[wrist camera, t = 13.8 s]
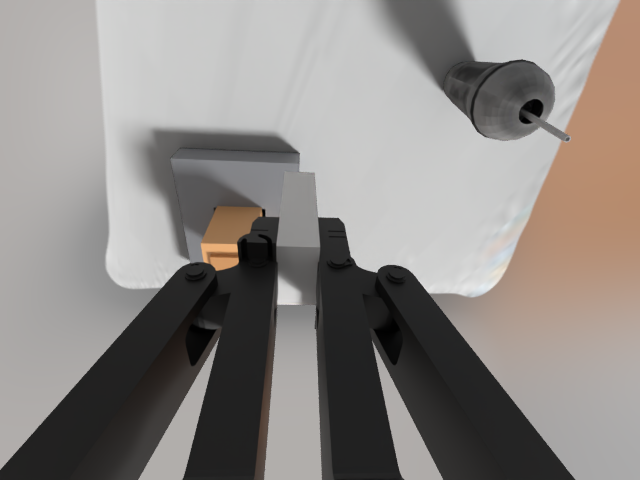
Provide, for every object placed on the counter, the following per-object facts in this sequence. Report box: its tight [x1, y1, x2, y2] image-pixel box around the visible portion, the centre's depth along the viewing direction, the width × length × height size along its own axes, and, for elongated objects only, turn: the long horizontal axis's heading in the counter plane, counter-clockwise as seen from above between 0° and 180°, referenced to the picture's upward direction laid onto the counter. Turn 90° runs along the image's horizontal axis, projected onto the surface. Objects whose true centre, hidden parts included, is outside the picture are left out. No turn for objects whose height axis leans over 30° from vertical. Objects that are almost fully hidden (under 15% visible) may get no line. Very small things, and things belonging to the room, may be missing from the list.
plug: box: [201, 206, 263, 271], centre depth 45 cm, size 7×6×12 cm
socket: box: [170, 148, 300, 263], centre depth 50 cm, size 20×16×4 cm
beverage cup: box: [444, 60, 571, 142], centre depth 34 cm, size 7×7×20 cm
